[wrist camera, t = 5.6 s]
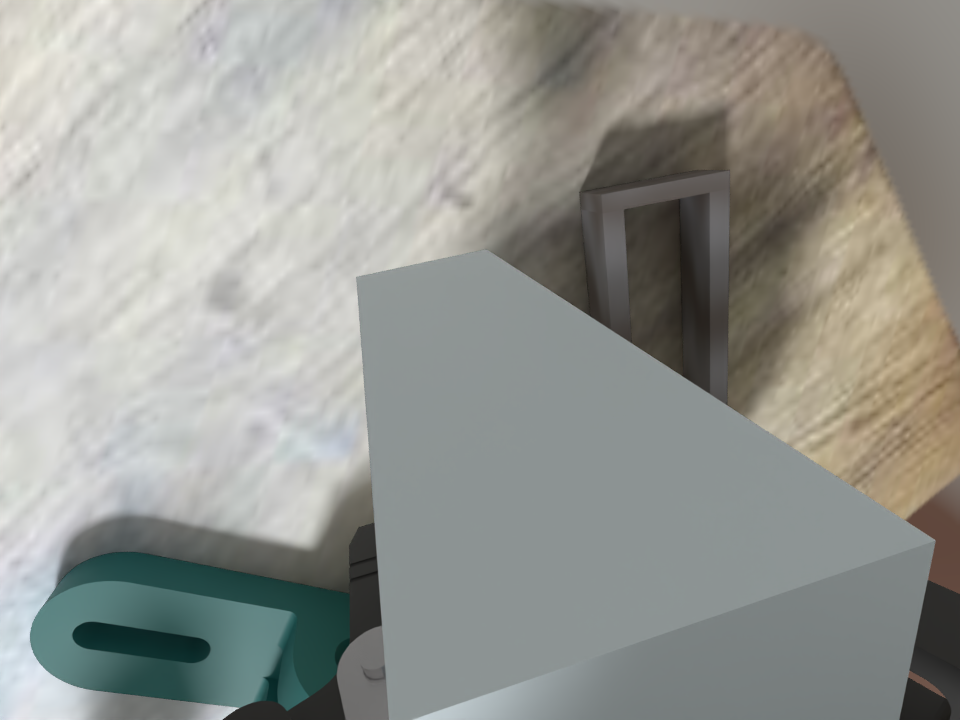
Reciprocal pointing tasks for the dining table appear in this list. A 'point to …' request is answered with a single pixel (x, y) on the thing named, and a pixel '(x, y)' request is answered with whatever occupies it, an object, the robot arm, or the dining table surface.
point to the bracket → (190, 632)
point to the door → (607, 526)
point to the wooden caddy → (699, 264)
